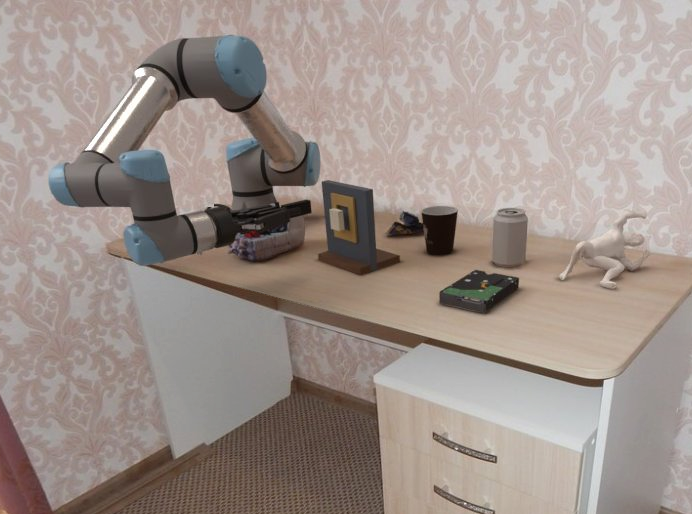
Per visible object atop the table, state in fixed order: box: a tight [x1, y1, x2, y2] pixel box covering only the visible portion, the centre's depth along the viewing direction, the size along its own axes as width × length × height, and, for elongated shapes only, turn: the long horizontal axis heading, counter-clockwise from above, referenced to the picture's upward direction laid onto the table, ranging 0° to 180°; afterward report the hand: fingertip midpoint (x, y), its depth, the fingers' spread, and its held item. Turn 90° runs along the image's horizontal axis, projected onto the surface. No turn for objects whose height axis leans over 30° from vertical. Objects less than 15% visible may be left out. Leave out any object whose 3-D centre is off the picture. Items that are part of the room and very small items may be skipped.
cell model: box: [227, 204, 306, 262], centre depth 155 cm, size 13×11×20 cm
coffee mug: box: [420, 205, 459, 257], centre depth 150 cm, size 12×9×10 cm
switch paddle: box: [329, 208, 344, 231], centre depth 140 cm, size 1×3×4 cm, turn 42°
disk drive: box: [438, 269, 520, 313], centre depth 124 cm, size 10×3×15 cm
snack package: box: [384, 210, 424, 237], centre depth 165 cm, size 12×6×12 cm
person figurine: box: [559, 210, 652, 290], centre depth 131 cm, size 13×13×18 cm
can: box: [491, 207, 529, 268], centre depth 139 cm, size 8×8×12 cm
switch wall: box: [317, 179, 401, 276], centre depth 144 cm, size 12×16×18 cm
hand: (309, 206), depth 134 cm, fingers closed
